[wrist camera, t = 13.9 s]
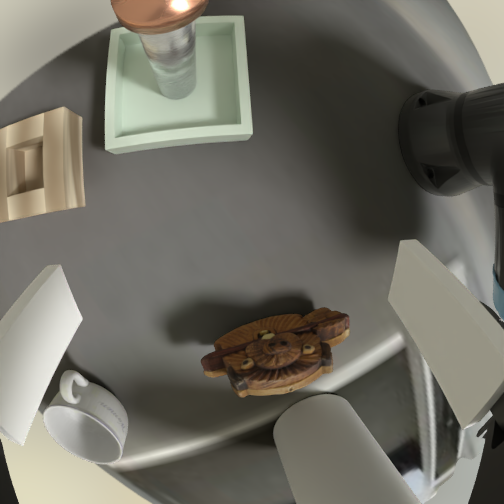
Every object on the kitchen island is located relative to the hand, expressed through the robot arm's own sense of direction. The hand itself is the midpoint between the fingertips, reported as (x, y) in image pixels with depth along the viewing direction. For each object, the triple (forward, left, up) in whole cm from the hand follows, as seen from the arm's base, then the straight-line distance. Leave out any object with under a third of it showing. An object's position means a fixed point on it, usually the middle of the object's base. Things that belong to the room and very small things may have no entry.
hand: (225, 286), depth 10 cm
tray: (+3, -16, -21) cm, 26 cm away
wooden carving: (-5, +12, -21) cm, 25 cm away
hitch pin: (+3, -16, -20) cm, 25 cm away
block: (+19, -9, -21) cm, 29 cm away
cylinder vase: (-11, +30, -21) cm, 38 cm away
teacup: (+19, +20, -21) cm, 35 cm away
